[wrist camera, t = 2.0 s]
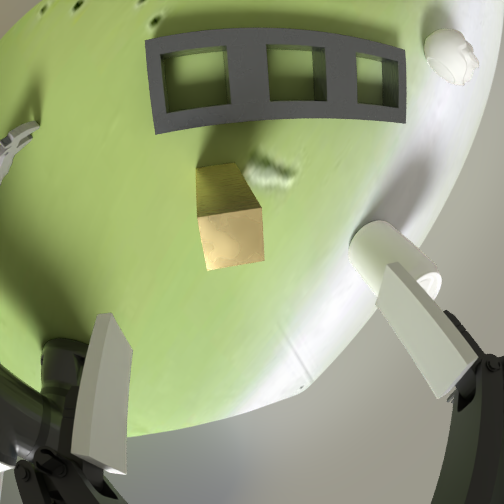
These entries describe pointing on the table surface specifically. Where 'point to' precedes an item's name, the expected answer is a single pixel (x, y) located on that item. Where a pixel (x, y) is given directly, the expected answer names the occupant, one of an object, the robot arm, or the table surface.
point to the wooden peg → (228, 217)
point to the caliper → (14, 145)
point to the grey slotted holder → (257, 84)
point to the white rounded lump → (450, 56)
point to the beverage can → (390, 257)
